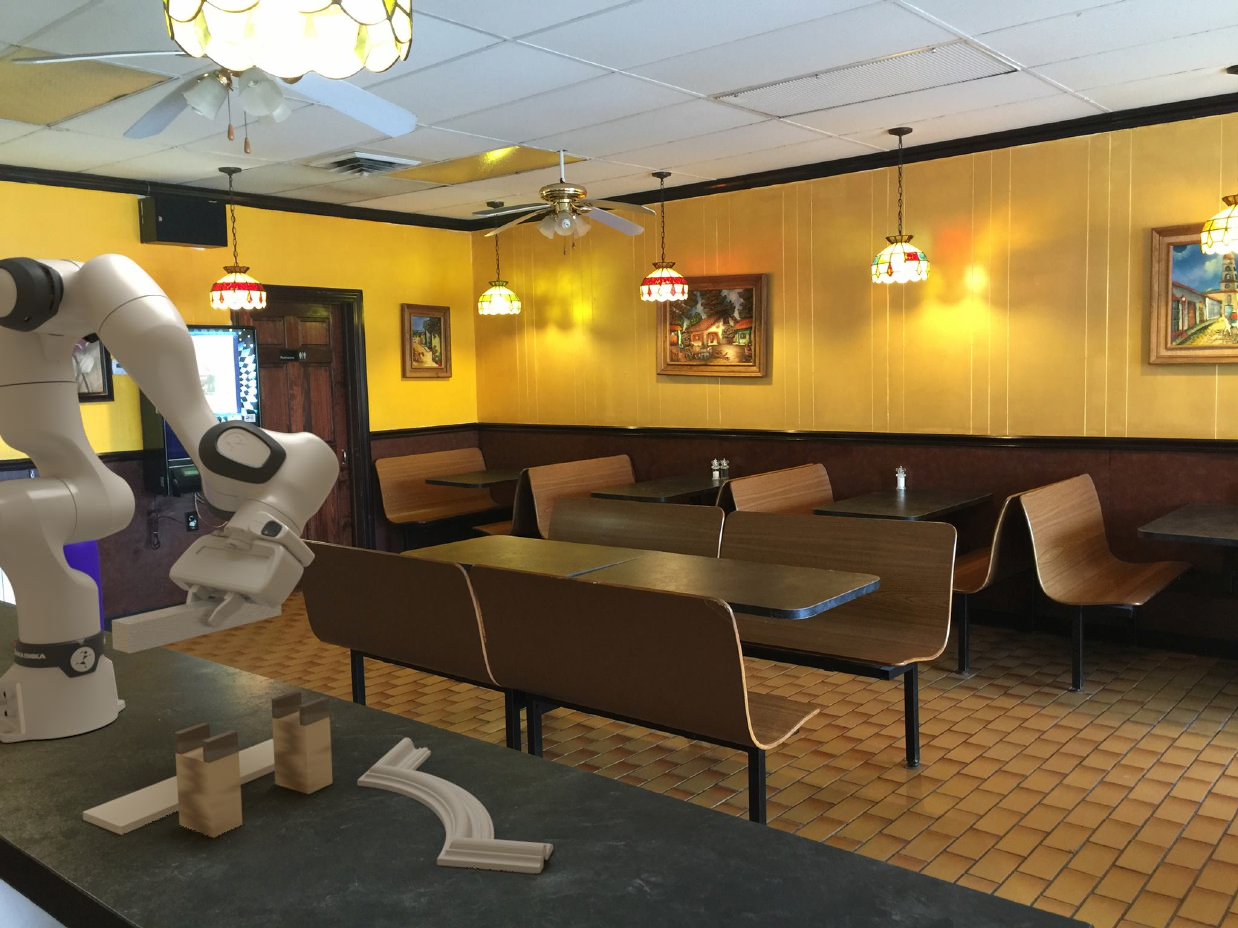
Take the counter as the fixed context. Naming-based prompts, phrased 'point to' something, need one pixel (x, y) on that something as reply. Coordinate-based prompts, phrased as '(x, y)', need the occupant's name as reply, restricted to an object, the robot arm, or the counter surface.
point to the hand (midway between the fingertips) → (197, 622)
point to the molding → (454, 815)
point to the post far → (301, 743)
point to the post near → (208, 780)
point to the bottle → (86, 565)
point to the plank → (170, 795)
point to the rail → (179, 624)
